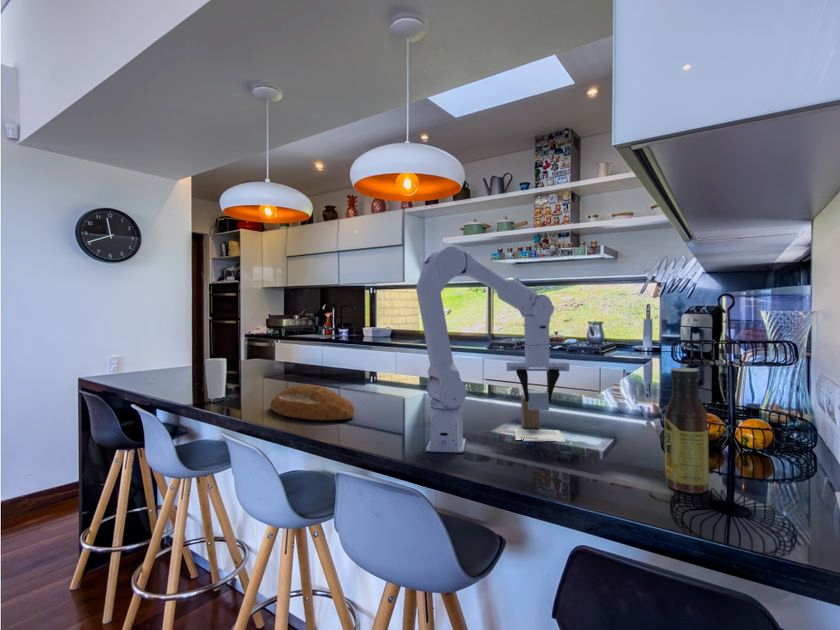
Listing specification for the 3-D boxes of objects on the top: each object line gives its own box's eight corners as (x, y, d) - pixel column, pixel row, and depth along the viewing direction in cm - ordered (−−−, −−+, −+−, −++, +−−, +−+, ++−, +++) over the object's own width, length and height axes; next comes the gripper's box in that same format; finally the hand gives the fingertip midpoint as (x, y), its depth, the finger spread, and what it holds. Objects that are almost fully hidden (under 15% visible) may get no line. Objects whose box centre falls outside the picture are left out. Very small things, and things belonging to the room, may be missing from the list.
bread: (322, 429, 119) (322, 395, 119) (253, 411, 142) (252, 383, 142) (371, 417, 132) (371, 386, 132) (300, 403, 155) (300, 377, 155)
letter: (565, 442, 102) (565, 441, 102) (516, 440, 104) (516, 440, 104) (559, 430, 112) (559, 430, 112) (514, 429, 114) (514, 429, 114)
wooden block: (521, 425, 118) (520, 395, 118) (536, 425, 118) (536, 394, 118) (524, 429, 114) (523, 397, 114) (539, 429, 114) (539, 397, 114)
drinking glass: (207, 400, 161) (206, 358, 161) (228, 399, 163) (227, 357, 163) (204, 404, 154) (203, 360, 154) (225, 402, 156) (225, 359, 156)
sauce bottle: (669, 478, 79) (667, 365, 79) (711, 486, 75) (709, 367, 75) (661, 490, 74) (659, 369, 74) (706, 499, 70) (704, 372, 70)
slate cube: (548, 410, 105) (548, 393, 105) (529, 410, 106) (528, 393, 106) (546, 406, 110) (546, 390, 110) (527, 406, 111) (527, 390, 111)
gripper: (565, 343, 111) (566, 398, 111) (505, 343, 113) (506, 397, 113) (570, 345, 104) (571, 404, 104) (506, 345, 106) (507, 403, 106)
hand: (537, 401), depth 108 cm, fingers closed on slate cube, 4 cm apart
